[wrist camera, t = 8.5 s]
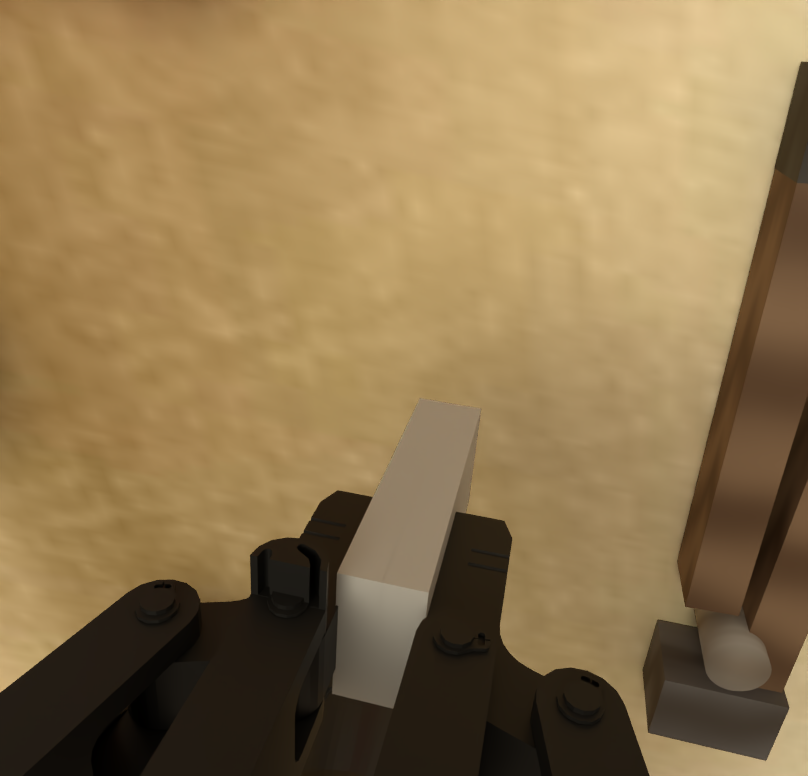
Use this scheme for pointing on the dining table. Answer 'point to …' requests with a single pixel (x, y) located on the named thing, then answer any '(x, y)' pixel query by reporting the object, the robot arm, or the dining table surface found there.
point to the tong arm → (756, 391)
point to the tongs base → (740, 639)
